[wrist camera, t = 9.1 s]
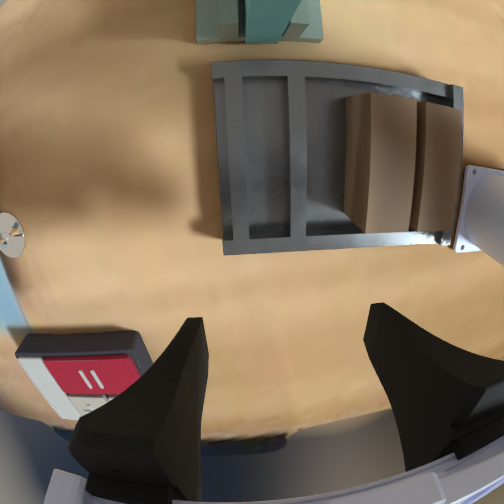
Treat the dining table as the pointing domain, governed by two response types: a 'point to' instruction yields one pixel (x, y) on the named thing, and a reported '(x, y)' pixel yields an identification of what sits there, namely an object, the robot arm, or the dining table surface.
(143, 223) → the dining table surface
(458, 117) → the offcut
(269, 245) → the rack
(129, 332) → the black red box
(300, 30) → the stand
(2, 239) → the wineglass
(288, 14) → the teal flat block
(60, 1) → the dining table surface
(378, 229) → the offcut
